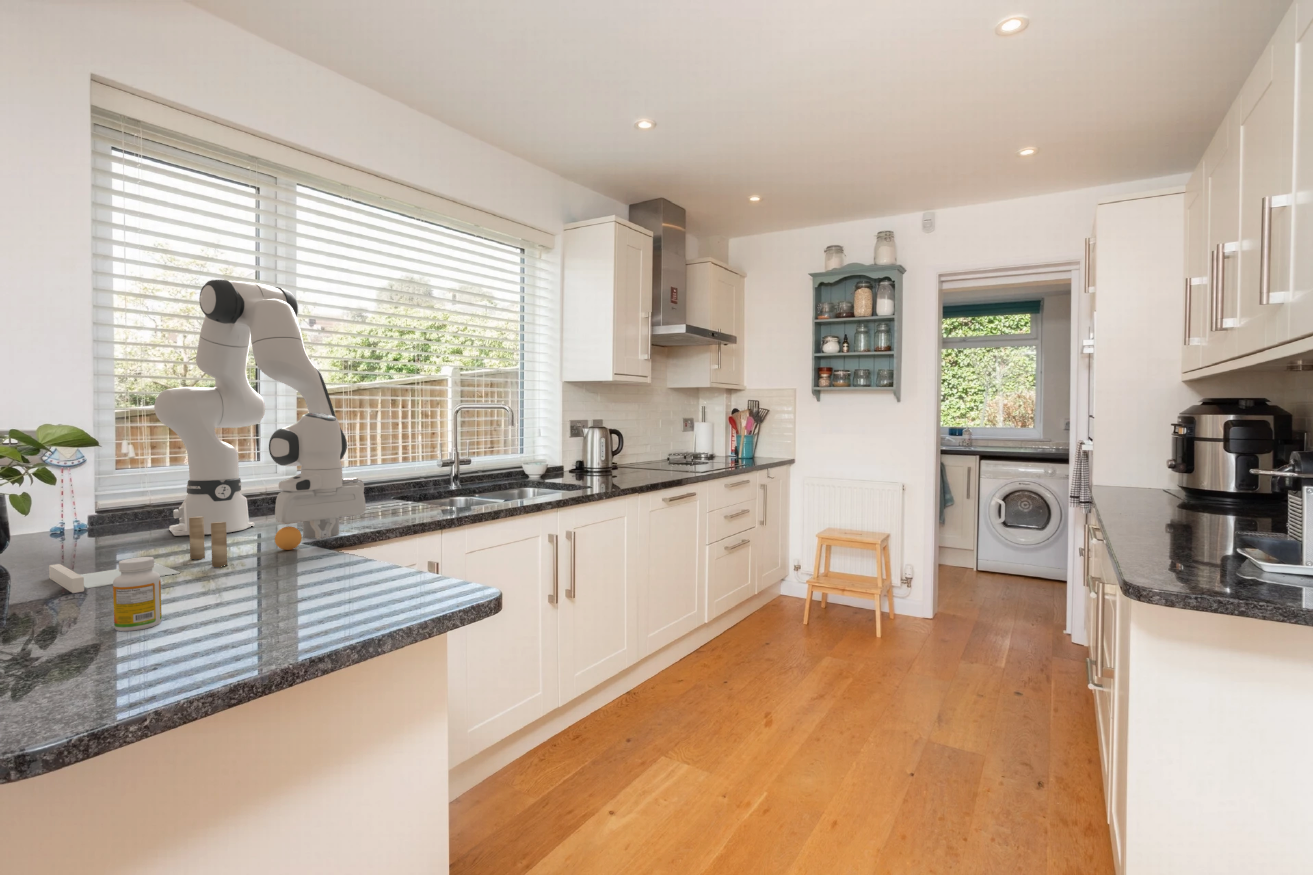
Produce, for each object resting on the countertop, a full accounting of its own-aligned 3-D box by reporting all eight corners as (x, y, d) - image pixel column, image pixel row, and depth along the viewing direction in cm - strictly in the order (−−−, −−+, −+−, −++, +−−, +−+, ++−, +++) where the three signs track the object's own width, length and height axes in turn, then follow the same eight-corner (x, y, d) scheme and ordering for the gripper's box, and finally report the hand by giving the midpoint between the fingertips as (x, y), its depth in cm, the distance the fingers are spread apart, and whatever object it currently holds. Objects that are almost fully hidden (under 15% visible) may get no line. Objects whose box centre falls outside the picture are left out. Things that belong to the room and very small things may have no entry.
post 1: (188, 558, 139) (187, 517, 139) (202, 556, 141) (201, 516, 141) (192, 560, 138) (191, 518, 138) (206, 558, 140) (205, 517, 140)
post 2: (210, 566, 132) (208, 522, 132) (224, 564, 134) (223, 521, 134) (214, 568, 130) (213, 524, 130) (229, 565, 132) (228, 522, 132)
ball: (270, 550, 148) (270, 527, 148) (295, 546, 152) (295, 523, 152) (281, 553, 145) (280, 529, 145) (306, 549, 149) (305, 526, 149)
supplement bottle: (132, 620, 96) (130, 556, 96) (170, 619, 96) (168, 555, 96) (104, 632, 91) (102, 564, 90) (145, 631, 91) (143, 563, 91)
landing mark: (67, 577, 123) (67, 576, 123) (157, 564, 135) (157, 563, 135) (86, 588, 115) (86, 587, 115) (180, 573, 126) (180, 572, 126)
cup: (323, 538, 163) (322, 499, 163) (295, 537, 165) (294, 498, 165) (346, 532, 172) (345, 495, 171) (319, 531, 173) (318, 494, 173)
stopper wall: (49, 578, 123) (49, 565, 123) (60, 576, 124) (59, 563, 124) (72, 593, 112) (72, 578, 112) (84, 591, 113) (83, 577, 113)
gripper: (357, 476, 165) (358, 530, 165) (271, 483, 148) (272, 542, 149) (370, 477, 161) (371, 532, 161) (283, 484, 145) (285, 546, 145)
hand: (323, 537), depth 155 cm, fingers closed
